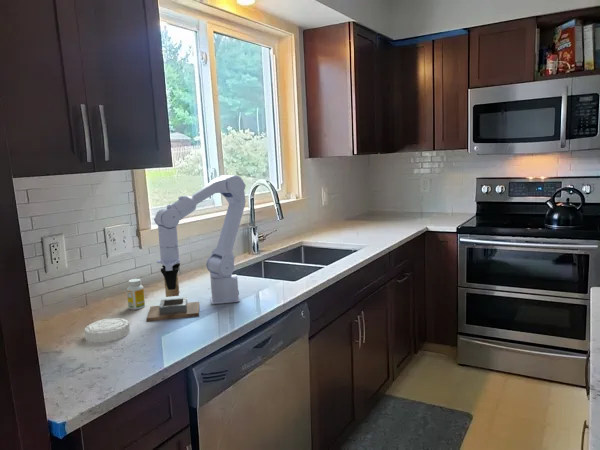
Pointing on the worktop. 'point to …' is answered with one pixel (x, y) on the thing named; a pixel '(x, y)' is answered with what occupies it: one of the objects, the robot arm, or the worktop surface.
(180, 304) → the socket board
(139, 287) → the supplement bottle
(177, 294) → the peg
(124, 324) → the mooncake
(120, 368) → the worktop surface
